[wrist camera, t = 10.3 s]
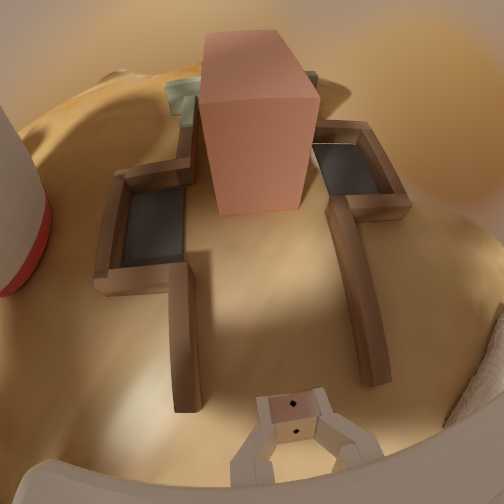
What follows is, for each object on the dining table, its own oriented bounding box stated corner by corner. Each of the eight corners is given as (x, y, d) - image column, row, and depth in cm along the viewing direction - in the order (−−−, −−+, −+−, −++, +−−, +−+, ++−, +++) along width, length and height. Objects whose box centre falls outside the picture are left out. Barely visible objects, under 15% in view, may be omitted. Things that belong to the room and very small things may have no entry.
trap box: (106, 403, 14) (73, 405, 10) (142, 116, 27) (133, 89, 23) (441, 359, 15) (475, 351, 11) (340, 100, 28) (346, 74, 24)
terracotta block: (219, 217, 20) (198, 104, 11) (216, 117, 26) (205, 33, 17) (298, 209, 21) (320, 98, 12) (272, 113, 26) (275, 29, 17)
